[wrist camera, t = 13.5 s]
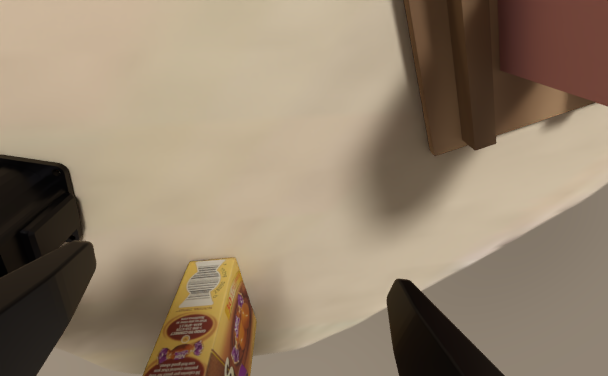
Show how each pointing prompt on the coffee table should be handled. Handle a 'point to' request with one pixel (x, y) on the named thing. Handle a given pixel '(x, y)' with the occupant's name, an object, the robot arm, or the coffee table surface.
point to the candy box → (207, 325)
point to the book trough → (472, 77)
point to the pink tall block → (557, 44)
